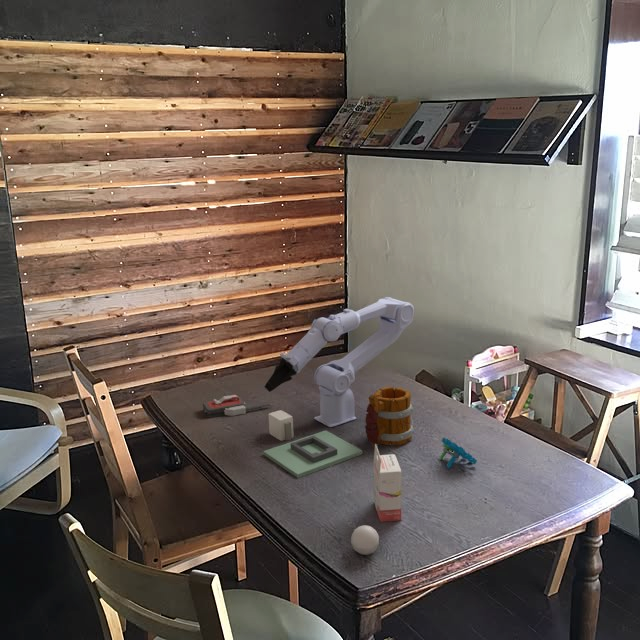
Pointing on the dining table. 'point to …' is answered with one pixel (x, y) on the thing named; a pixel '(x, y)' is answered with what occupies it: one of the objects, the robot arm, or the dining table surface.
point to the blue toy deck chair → (455, 452)
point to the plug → (281, 425)
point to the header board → (312, 453)
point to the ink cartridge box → (387, 486)
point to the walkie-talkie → (228, 406)
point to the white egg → (365, 540)
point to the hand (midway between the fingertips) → (268, 387)
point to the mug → (389, 417)
